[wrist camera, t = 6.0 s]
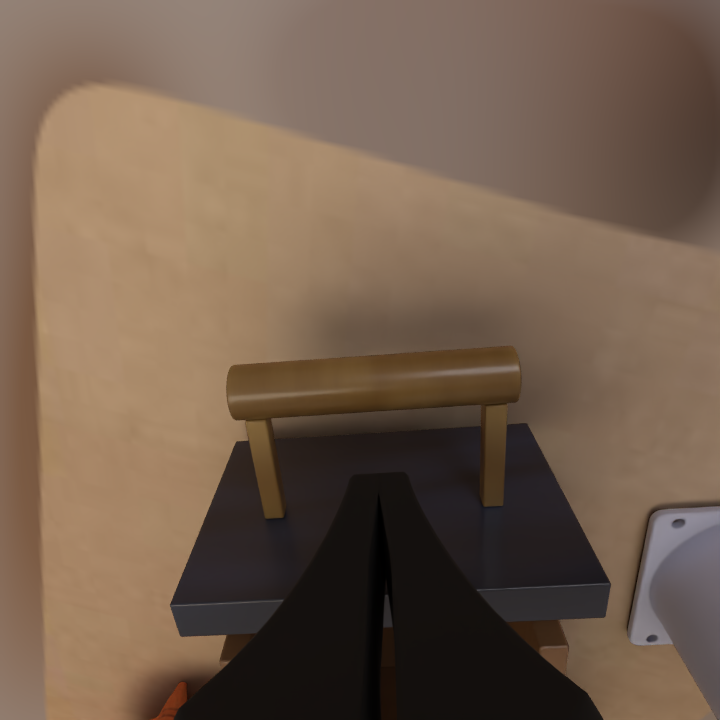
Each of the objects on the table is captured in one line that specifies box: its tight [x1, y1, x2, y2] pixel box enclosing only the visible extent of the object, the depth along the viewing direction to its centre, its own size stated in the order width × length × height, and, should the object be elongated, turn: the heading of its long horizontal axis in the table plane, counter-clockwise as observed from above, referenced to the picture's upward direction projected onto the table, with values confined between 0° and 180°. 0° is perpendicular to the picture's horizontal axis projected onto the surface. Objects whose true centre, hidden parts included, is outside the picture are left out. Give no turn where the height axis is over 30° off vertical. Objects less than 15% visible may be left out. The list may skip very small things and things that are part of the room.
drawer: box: [170, 346, 611, 720], centre depth 18 cm, size 17×11×7 cm, turn 4°
